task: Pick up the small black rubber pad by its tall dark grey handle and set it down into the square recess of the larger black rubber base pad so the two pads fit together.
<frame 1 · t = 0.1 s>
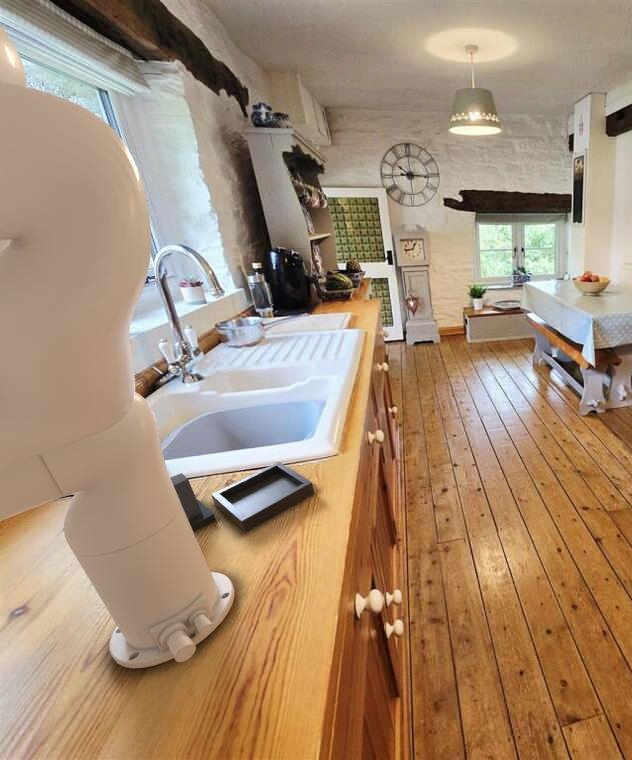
hand: (6, 315, 51), 37 cm above the worktop, tool pointing down, fingers open, 9 cm apart
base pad: (265, 498, 74), on the worktop
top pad: (184, 523, 69), on the worktop
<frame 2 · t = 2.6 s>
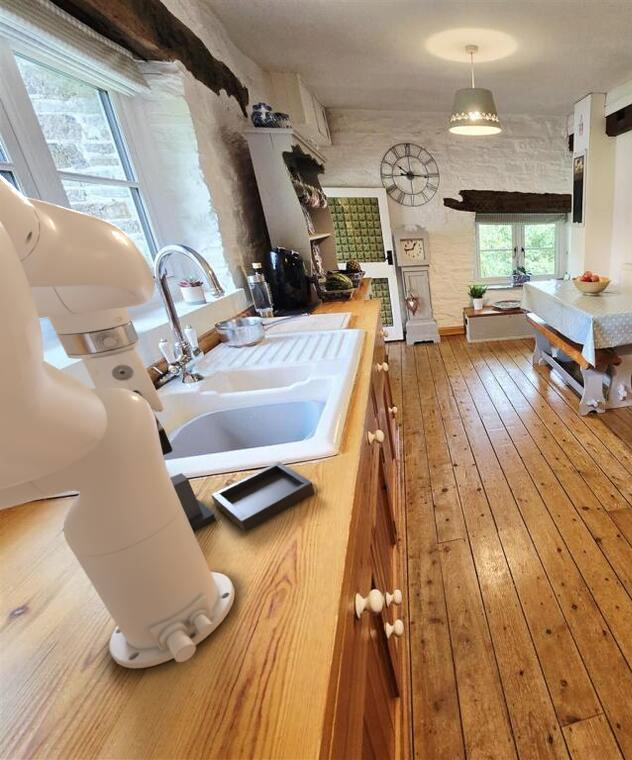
hand: (148, 445, 63), 15 cm above the worktop, tool pointing down, fingers open, 9 cm apart
nothing on the worktop moved.
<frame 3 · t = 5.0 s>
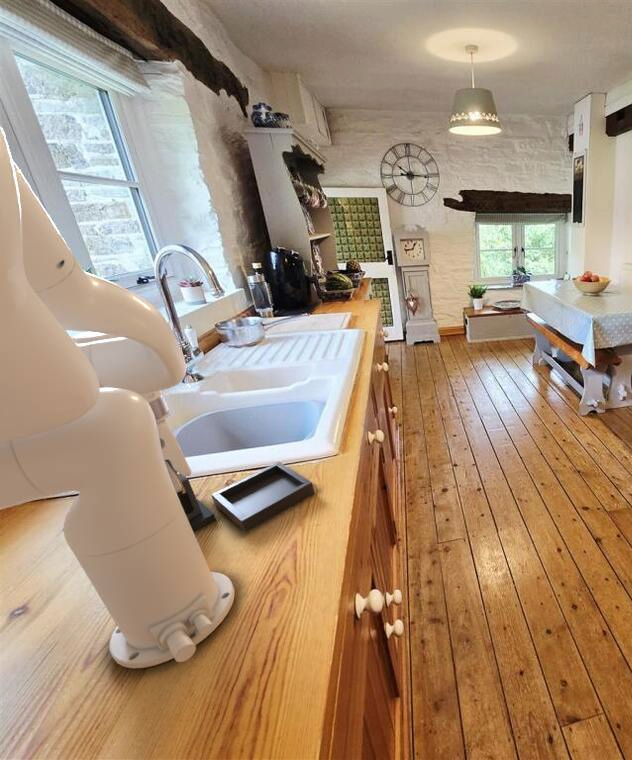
hand: (178, 510, 67), 3 cm above the worktop, tool pointing down, fingers closed on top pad, 3 cm apart
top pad: (184, 523, 69), on the worktop, touching gripper
everything else where it was.
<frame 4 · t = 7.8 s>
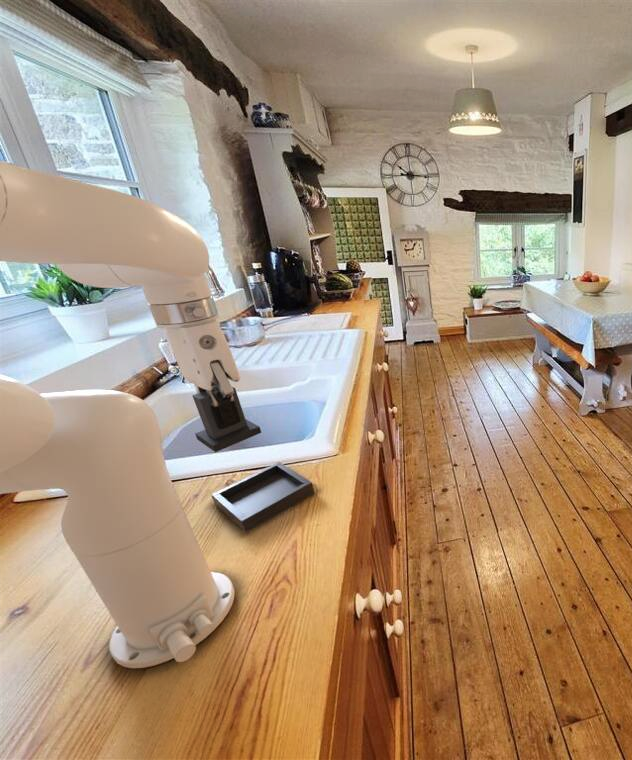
hand: (224, 421, 67), 16 cm above the worktop, tool pointing down, fingers closed on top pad, 3 cm apart
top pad: (229, 436, 68), point 14 cm above the worktop, touching gripper
everything else where it was.
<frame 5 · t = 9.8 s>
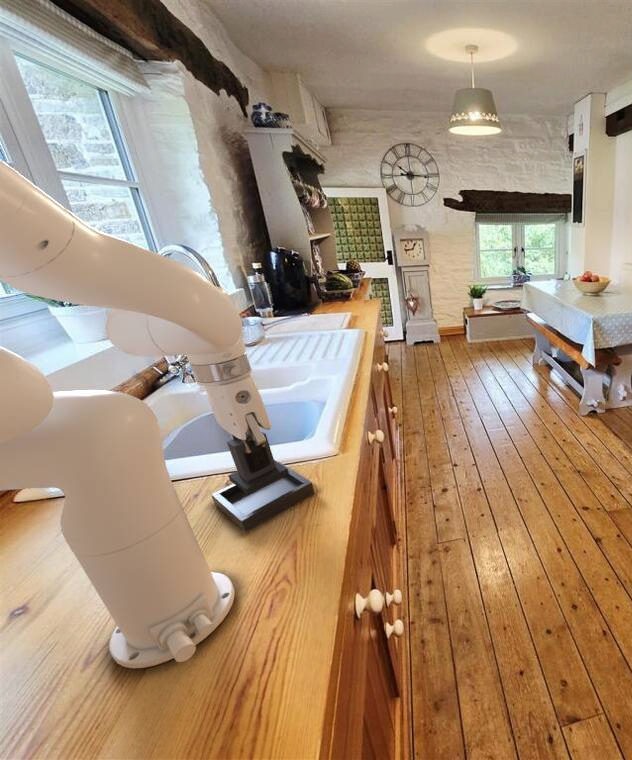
hand: (255, 464, 71), 7 cm above the worktop, tool pointing down, fingers closed on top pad, 3 cm apart
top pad: (260, 477, 72), point 4 cm above the worktop, touching gripper
everything else where it was.
when the fingers open (4 cm above the worktop, at t = 11.0 s): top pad stays where it is, resting on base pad.
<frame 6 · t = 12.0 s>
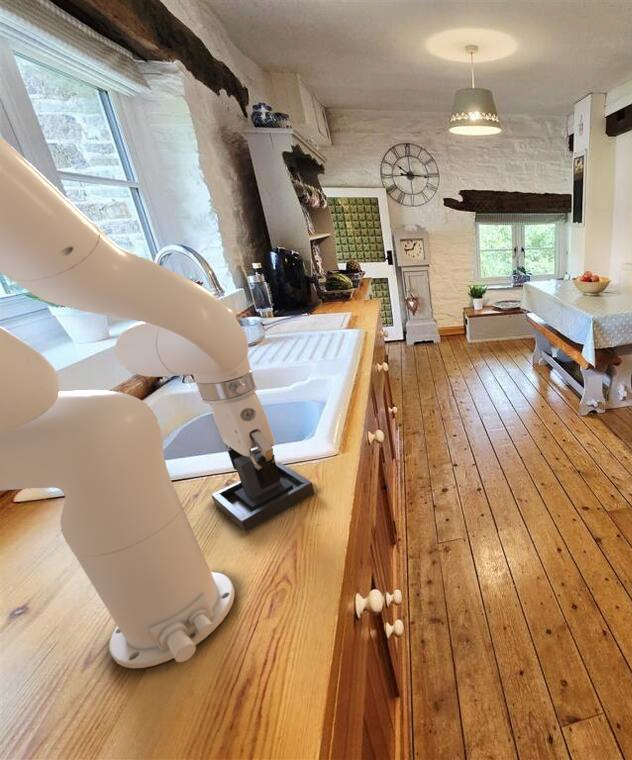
hand: (257, 474, 72), 5 cm above the worktop, tool pointing down, fingers open, 9 cm apart
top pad: (265, 494, 74), point 1 cm above the worktop, touching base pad
everything else where it was.
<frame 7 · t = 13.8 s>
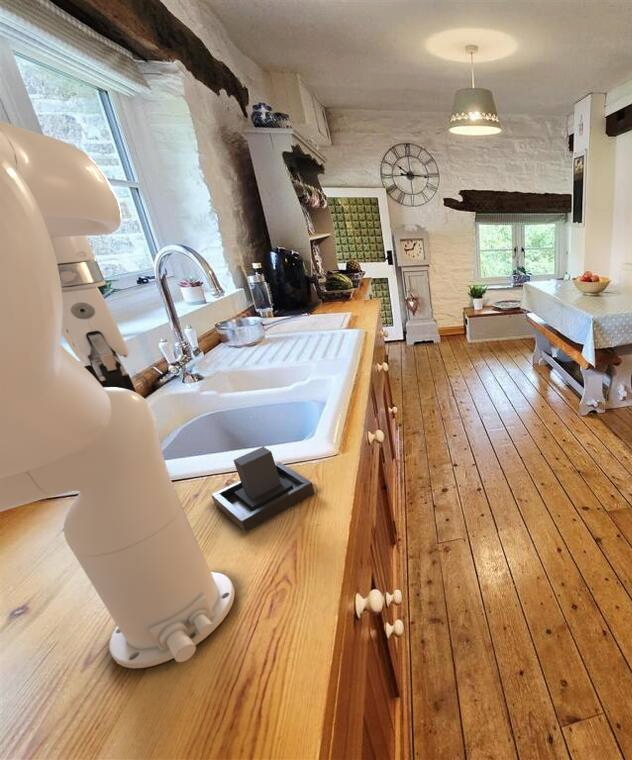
hand: (116, 395, 60), 24 cm above the worktop, tool pointing down, fingers open, 9 cm apart
nothing on the worktop moved.
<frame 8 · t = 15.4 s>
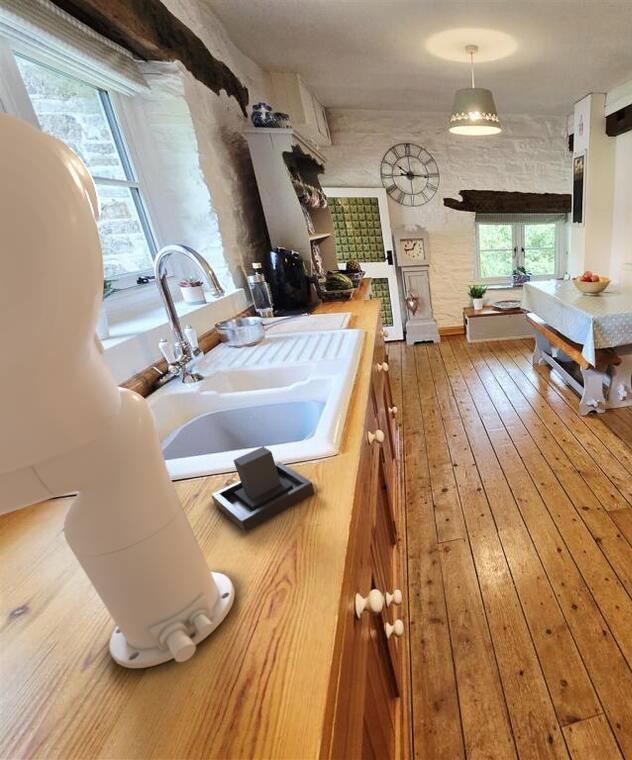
hand: (91, 393, 59), 24 cm above the worktop, tool pointing down, fingers open, 9 cm apart
nothing on the worktop moved.
at the end: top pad 0.3 cm off-centre in the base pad, point 0.8 cm above the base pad's base; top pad tilted 0°; the gripper is holding nothing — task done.
